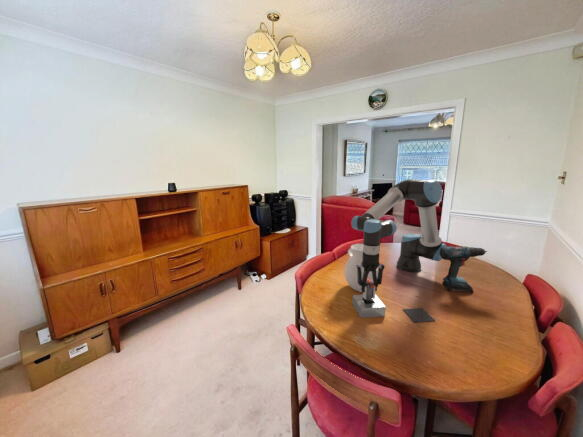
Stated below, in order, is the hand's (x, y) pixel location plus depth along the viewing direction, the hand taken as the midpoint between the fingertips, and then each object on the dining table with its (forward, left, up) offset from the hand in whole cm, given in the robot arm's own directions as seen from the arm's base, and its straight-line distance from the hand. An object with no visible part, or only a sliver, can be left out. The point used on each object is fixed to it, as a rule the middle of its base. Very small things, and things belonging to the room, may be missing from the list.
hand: (368, 297), depth 122 cm
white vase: (-22, +4, -7) cm, 23 cm away
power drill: (-15, +59, -7) cm, 61 cm away
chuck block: (0, 0, -7) cm, 7 cm away
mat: (+7, +22, -7) cm, 24 cm away
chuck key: (0, 0, -5) cm, 5 cm away
